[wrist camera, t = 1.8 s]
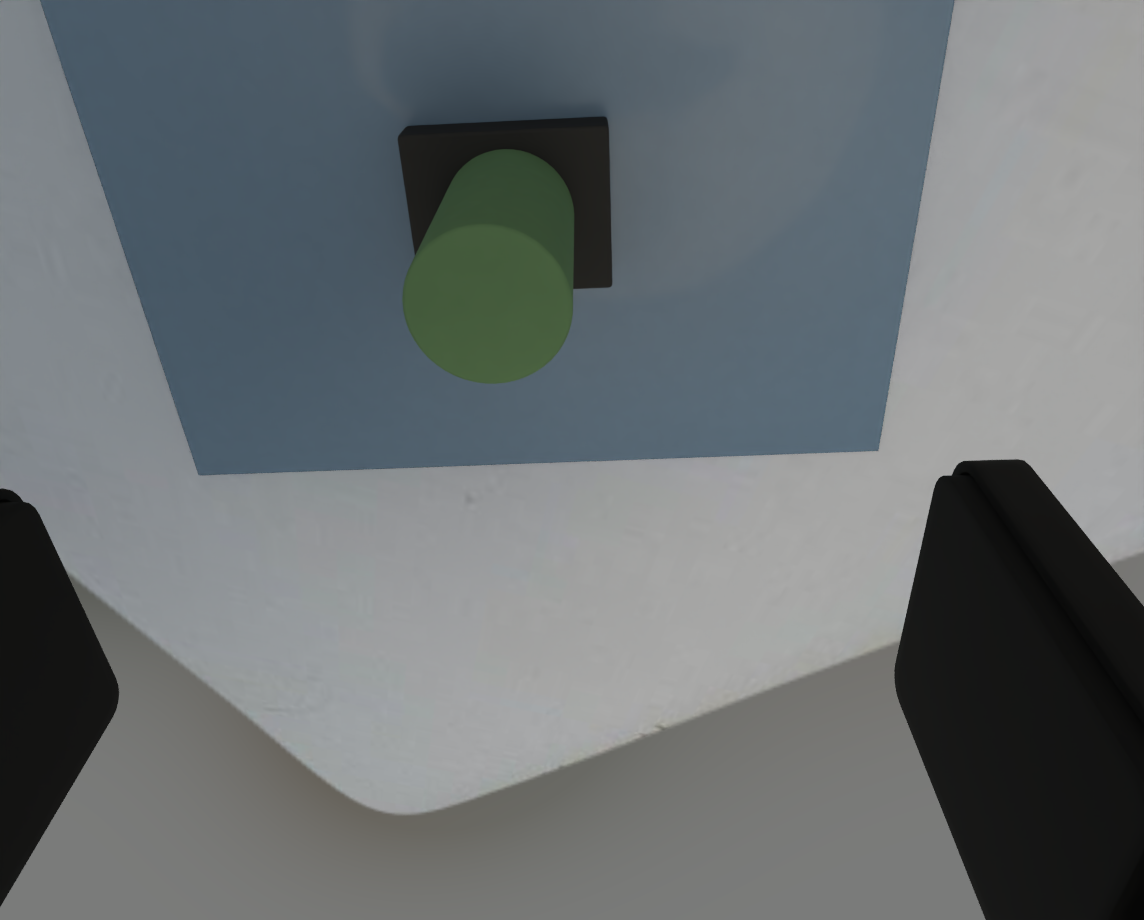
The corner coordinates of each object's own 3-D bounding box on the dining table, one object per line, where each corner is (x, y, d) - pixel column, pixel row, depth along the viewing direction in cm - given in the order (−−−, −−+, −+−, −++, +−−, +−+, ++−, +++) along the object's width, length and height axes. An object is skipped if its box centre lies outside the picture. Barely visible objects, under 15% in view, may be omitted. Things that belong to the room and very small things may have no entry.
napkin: (200, 473, 27) (198, 475, 27) (-9, -154, 18) (-13, -155, 18) (877, 448, 26) (878, 451, 26) (988, -213, 18) (990, -214, 17)
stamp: (426, 280, 23) (373, 408, 17) (405, 125, 21) (334, 208, 15) (610, 272, 23) (622, 398, 17) (607, 115, 21) (619, 194, 15)
